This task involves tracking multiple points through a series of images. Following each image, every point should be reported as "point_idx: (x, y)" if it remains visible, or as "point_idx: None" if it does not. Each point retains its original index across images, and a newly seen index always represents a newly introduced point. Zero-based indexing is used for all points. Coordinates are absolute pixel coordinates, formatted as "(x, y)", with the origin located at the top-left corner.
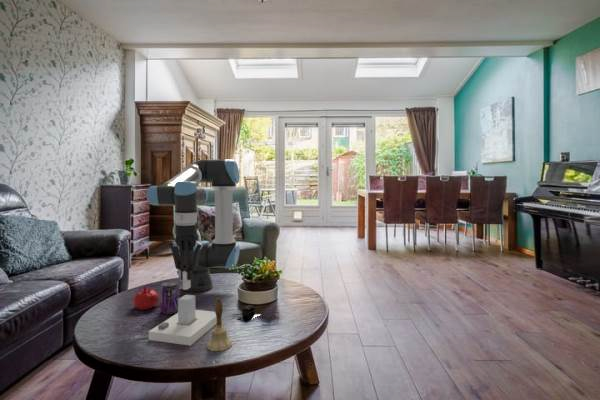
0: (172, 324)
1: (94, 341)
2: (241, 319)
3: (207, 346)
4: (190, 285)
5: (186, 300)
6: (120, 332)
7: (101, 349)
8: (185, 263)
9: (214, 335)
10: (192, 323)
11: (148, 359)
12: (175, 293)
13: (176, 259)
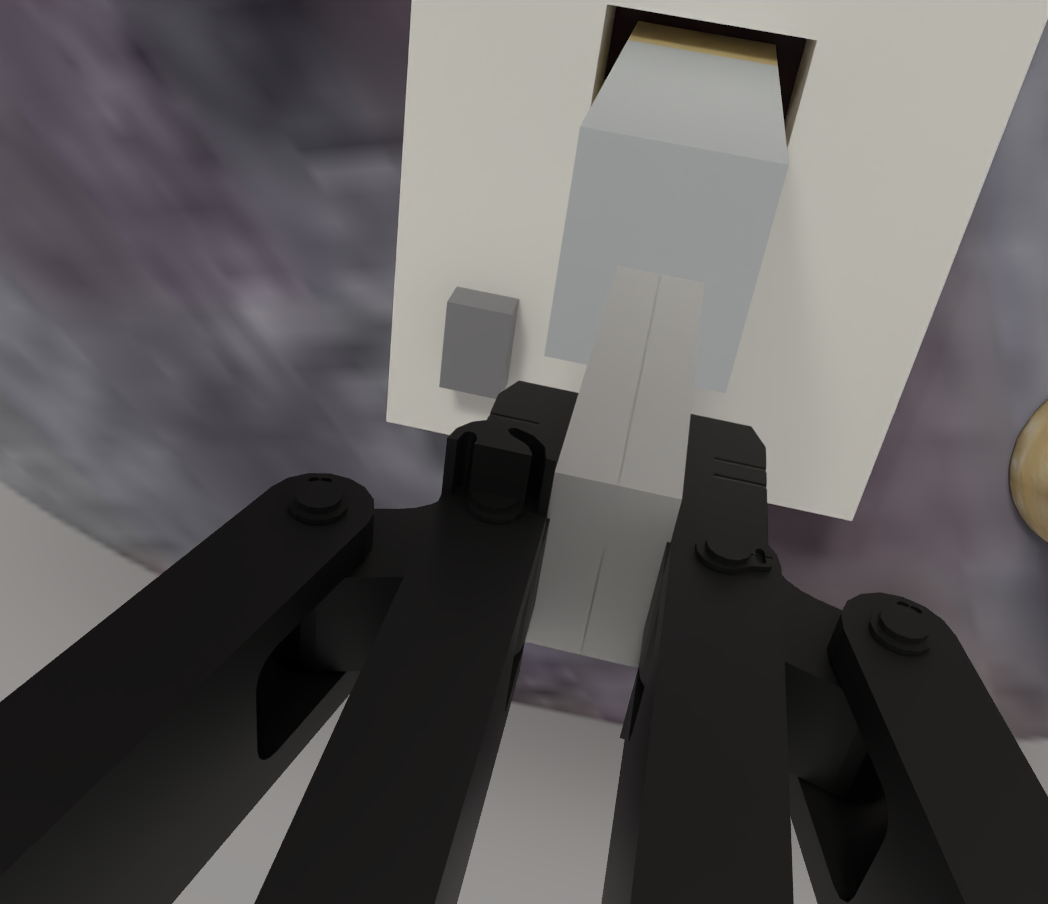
0: (541, 253)
1: (10, 416)
2: None
3: (1025, 514)
4: (700, 299)
5: (698, 382)
6: (60, 249)
7: (166, 526)
8: (503, 684)
9: None
10: (776, 209)
11: None
12: None
13: (186, 869)
